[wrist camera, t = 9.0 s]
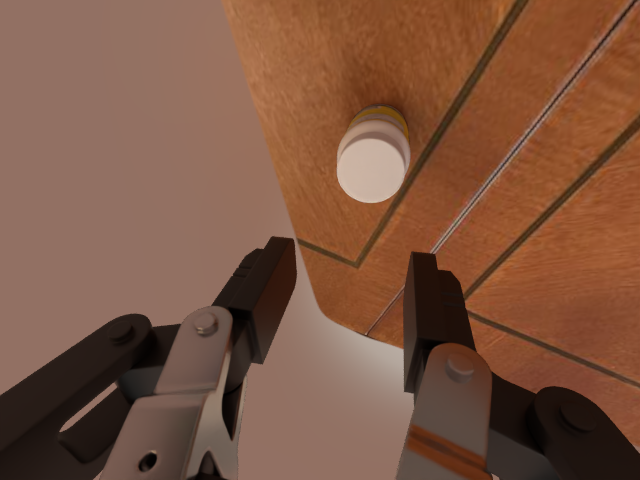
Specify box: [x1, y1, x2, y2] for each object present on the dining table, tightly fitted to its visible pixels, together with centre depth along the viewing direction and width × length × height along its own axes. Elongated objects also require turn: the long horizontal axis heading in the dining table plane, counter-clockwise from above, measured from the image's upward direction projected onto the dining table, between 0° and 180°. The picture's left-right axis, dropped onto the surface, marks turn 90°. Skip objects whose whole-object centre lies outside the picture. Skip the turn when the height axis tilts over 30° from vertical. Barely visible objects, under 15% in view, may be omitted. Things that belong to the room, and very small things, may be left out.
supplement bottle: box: [337, 104, 411, 203], centre depth 22 cm, size 5×5×8 cm
